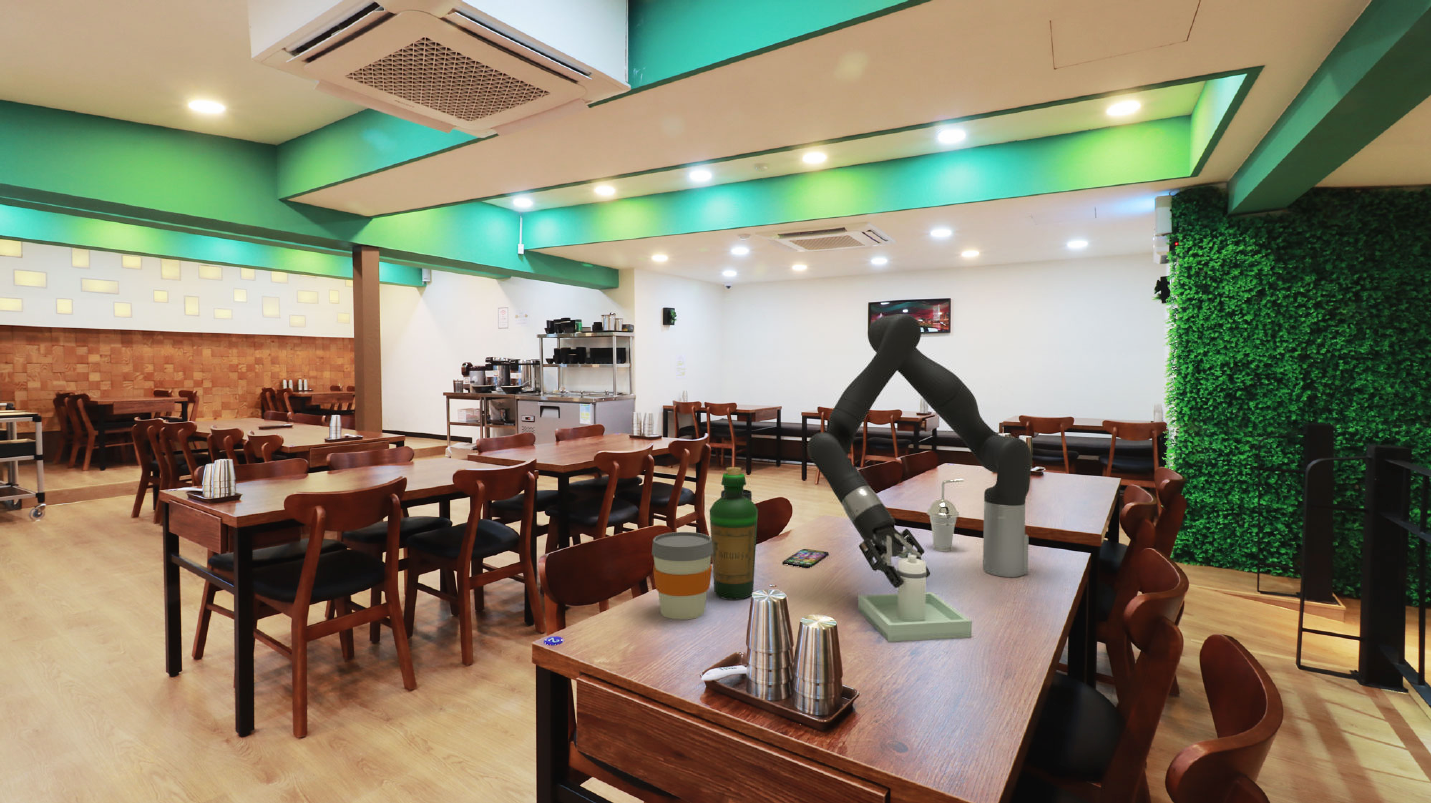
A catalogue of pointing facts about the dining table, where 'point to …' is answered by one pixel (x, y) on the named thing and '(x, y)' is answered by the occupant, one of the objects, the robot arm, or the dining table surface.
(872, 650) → the dining table surface
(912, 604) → the white capped canister
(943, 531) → the cup with straw
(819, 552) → the smartphone
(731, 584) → the bottle
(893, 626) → the pale green rectangular tray
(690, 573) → the reusable coffee cup
